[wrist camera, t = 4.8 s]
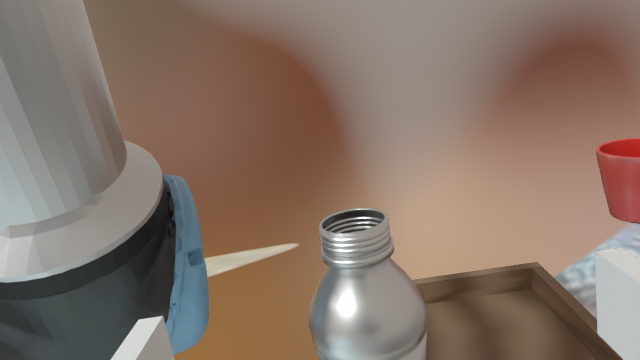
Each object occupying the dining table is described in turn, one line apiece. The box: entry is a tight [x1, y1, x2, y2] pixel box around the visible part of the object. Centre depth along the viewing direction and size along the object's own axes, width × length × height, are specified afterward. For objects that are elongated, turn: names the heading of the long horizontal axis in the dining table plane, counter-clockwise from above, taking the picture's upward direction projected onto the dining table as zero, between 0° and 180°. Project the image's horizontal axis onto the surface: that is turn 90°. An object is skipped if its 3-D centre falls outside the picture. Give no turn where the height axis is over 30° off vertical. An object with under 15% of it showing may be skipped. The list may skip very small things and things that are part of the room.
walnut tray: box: [412, 262, 623, 360], centre depth 43 cm, size 18×18×4 cm
